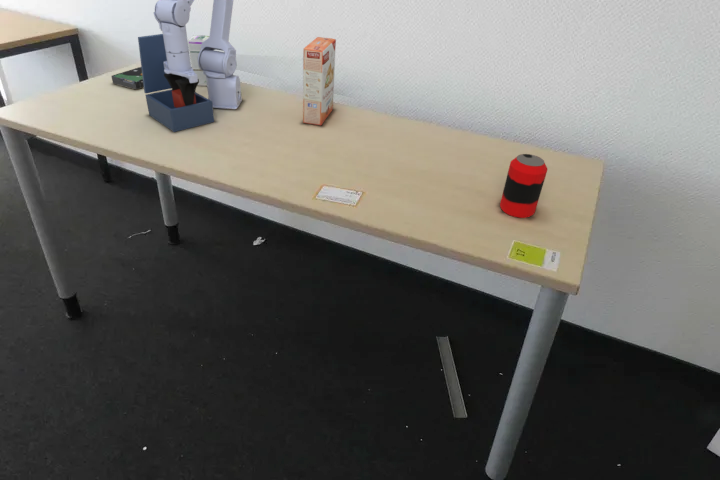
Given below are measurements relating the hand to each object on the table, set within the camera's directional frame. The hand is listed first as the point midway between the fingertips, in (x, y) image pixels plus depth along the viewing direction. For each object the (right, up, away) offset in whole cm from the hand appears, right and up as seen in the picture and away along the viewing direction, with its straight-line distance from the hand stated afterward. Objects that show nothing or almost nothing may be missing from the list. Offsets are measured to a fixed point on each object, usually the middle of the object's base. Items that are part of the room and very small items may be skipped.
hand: (184, 102), depth 138 cm
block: (0, -1, +1) cm, 1 cm away
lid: (-6, +11, +1) cm, 12 cm away
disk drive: (-24, +15, +29) cm, 40 cm away
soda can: (+82, -31, -26) cm, 91 cm away
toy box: (-3, -3, +5) cm, 7 cm away
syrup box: (-4, +15, +31) cm, 34 cm away
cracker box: (+35, -1, +12) cm, 38 cm away
